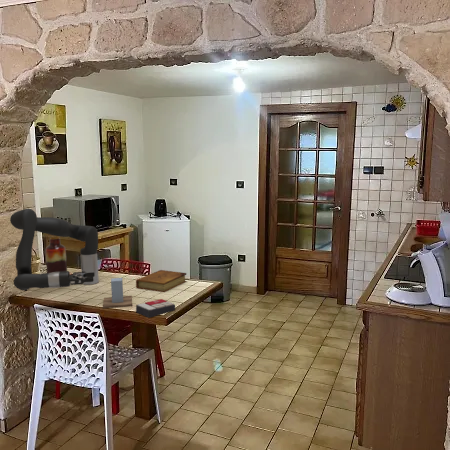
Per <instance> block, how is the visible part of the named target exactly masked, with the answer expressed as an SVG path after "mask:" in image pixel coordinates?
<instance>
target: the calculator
mask: <svg viewBox="0 0 450 450" xmlns="http://www.w3.org/2000/svg"><path fill="white" fill-rule="evenodd" d="M175 310H176V304H174V303H173V302H172V301H171V302H170V301H167V300H165V299H163V298H160V299H155V300H151V301H146V302H143V303H137V304H136V306H135V312H136V313H137V314H139V315H142V316H144V317H146V318H148V319H150V318H153V317H156V316H159V315H162V314H163V313H164V314H166V313H170V312H173V311H175ZM164 314H163V315H164Z"/></svg>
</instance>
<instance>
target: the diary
mask: <svg viewBox="0 0 450 450" xmlns="http://www.w3.org/2000/svg"><path fill="white" fill-rule="evenodd" d="M186 275H187V272H181V271H174V270H173V271H172V270H165V269H164V270H163V269H159V270H158V271H155V272H152V273H150V274H146V275H144V276H142V277H140V278H139V277H138V278H137V279H136V280H135V288H136V289H139V290H146V291H152V292H160V293H166V292H168V291H170V290H172V289H175V288H177V287H179V286H180V285H183V284H185V283H187V282H188V281H187V280H186Z"/></svg>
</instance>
